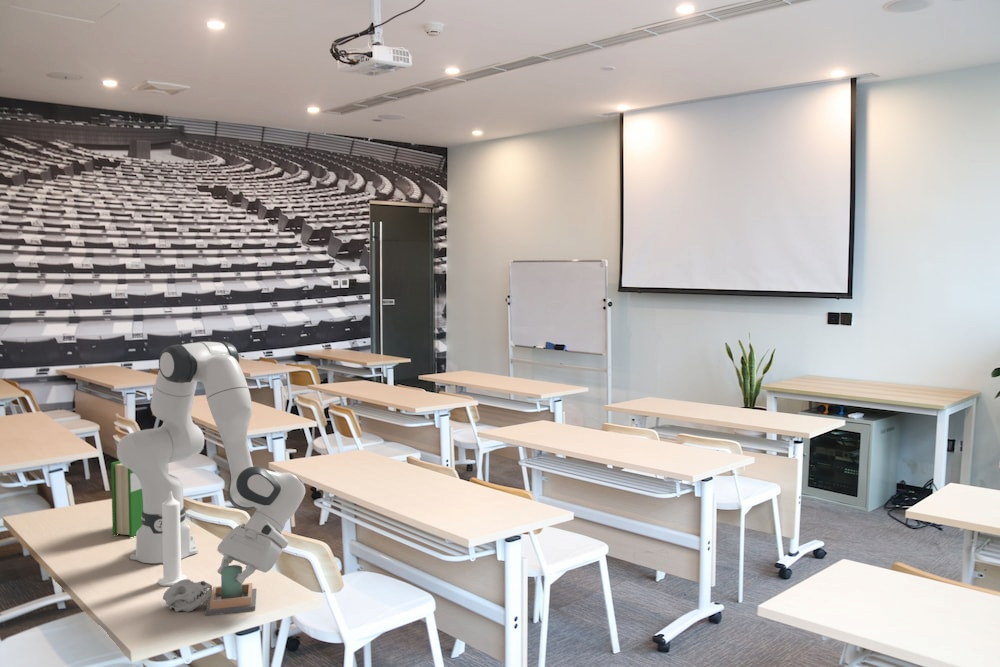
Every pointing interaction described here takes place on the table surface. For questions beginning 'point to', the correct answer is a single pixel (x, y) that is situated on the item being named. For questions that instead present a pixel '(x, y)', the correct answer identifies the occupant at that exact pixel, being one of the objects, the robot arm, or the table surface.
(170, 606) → the skull
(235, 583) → the green cylinder
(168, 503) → the candle
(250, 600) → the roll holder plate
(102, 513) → the table surface
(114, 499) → the hardback book
